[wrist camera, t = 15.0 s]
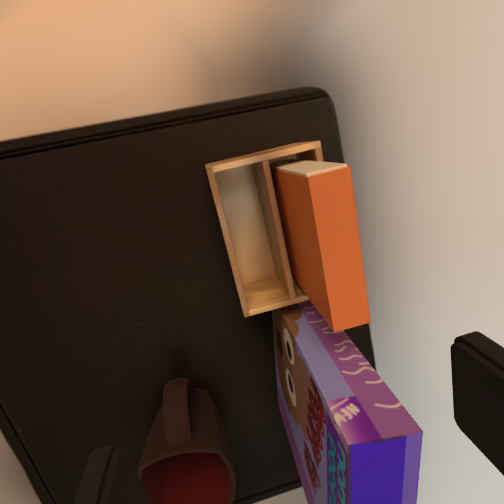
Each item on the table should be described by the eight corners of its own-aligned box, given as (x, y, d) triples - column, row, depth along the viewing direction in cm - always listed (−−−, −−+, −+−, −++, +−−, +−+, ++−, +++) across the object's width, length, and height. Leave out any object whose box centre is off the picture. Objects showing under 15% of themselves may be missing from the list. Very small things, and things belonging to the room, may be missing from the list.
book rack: (236, 288, 42) (244, 317, 35) (204, 164, 38) (205, 167, 30) (318, 266, 43) (343, 290, 36) (297, 142, 38) (320, 140, 31)
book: (290, 158, 38) (350, 163, 23) (308, 259, 42) (370, 322, 27) (264, 164, 38) (307, 174, 23) (285, 266, 42) (334, 332, 26)
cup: (159, 442, 47) (146, 535, 36) (139, 355, 43) (116, 429, 32) (231, 428, 48) (241, 514, 37) (218, 341, 44) (224, 408, 33)
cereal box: (270, 290, 43) (349, 448, 20) (307, 285, 44) (425, 434, 21) (277, 404, 48) (347, 633, 25) (311, 399, 49) (408, 618, 26)
